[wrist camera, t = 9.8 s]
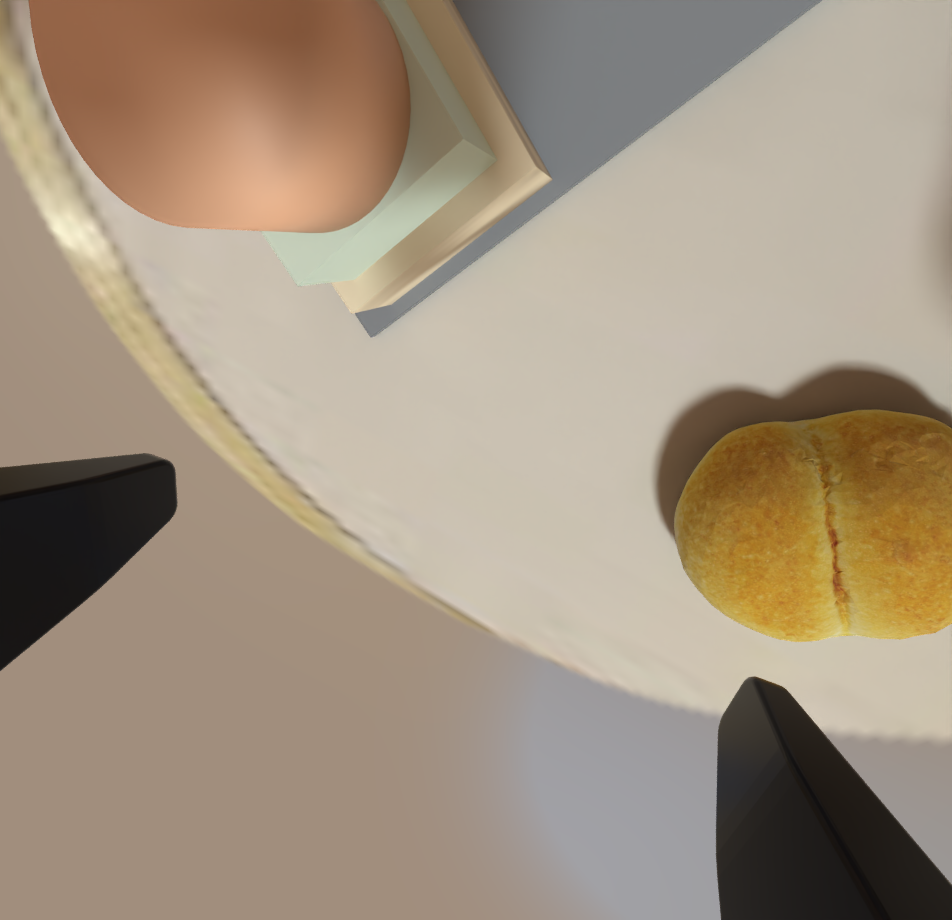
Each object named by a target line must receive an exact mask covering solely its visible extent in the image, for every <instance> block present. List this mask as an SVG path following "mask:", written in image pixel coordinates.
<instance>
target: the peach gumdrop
mask: <svg viewBox="0 0 952 920" xmlns="http://www.w3.org/2000/svg"><path fill="white" fill-rule="evenodd" d="M29 8H30V17H31V27H32V32H33V38H34V43H35V48H36V53H37V57H38V61H39V64H40V68H41V72H42V75H43V78H44V81H45V84H46V87H47V90H48V93H49V95H50V98H51V101H52V103H53V105H54V107H55V110H56V112H57V114H58V117H59V119H60V121H61V123H62V125H63V127H64V128H65V130H66V132H67V134H68V136H69V138H70V139H71V141H72V143H73V144H74V146H75V147H76V149H77V150H78V152H79V153H80V155H81V157H82V158H83V160H84V161H85V162H86V163H87V165H88V166H89V167H90V168H91V170H92V171H93V172H94V173H95V175H96V176H97V177H98V178H99V179H100V180H101V181H102V182H103V183H104V184H105V185H106V186H107V187H108V188H109V189H110V190H111V191H112V192H113V193H114V194H115V195H116V196H118V197H119V198H120V199H121V200H122V201H124V202H125V203H126V204H128V205H129V206H131V207H132V208H134V209H135V210H137V211H138V212H140V213H142V214H144V215H146V216H148V217H150V218H152V219H154V220H157V221H160V222H163V223H166V224H169V225H173V226H179V227H186V228H206V229H229V230H252V231H275V232H298V233H327V232H333V231H338V230H340V229H343V228H346V227H349V226H350V225H352V224H354V223H356V222H358V221H360V220H361V219H362V218H363V217H365V216H366V215H367V214H369V213H370V212H371V211H372V210H373V209H374V208H375V207H376V206H377V205H378V204H379V203H380V201H381V200H382V199H383V197H384V196H385V194H386V193H387V192H388V190H389V189H390V187H391V185H392V183H393V181H394V180H395V178H396V176H397V173H398V171H399V168H400V166H401V163H402V160H403V157H404V153H405V150H406V146H407V140H408V134H409V128H410V113H411V104H410V87H409V81H408V74H407V69H406V65H405V61H404V57H403V53H402V50H401V47H400V45H399V42H398V39H397V37H396V34H395V32H394V30H393V28H392V26H391V24H390V22H389V20H388V18H387V17H386V15H385V14H384V12H383V11H382V9H381V8H380V6H379V5H378V3H377V2H376V1H375V0H29Z"/></svg>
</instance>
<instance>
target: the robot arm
mask: <svg viewBox="0 0 952 920" xmlns="http://www.w3.org/2000/svg"><path fill="white" fill-rule="evenodd" d="M176 508H177V488H176V472H175V468H174V466H173V464H172V463H171V462H170V461H168V460H166V459H163V458H161V457H158V456H155V455H152V454H146V453H143V454H133V455H123V456H113V457H103V458H92V459H82V460H73V461H63V462H52V463H42V464H32V465H22V466H12V467H2V468H0V671H1V670H2V669H3V668H5V667H6V666H7V665H8V664H9V663H11V662H12V661H13V660H14V659H16V658H17V657H18V656H19V655H20V654H21V653H23V652H24V651H25V650H26V649H28V648H29V647H30V646H31V645H32V644H34V643H35V642H36V641H37V640H39V639H40V638H41V637H42V636H43V635H45V634H46V633H47V632H48V631H49V630H51V629H52V628H53V627H54V626H55V625H57V624H58V623H59V622H60V621H61V620H63V619H64V618H65V617H66V616H68V615H69V614H70V613H71V612H72V611H74V610H75V609H76V608H77V607H79V606H80V605H81V604H82V603H83V602H85V601H86V600H87V599H88V598H89V597H90V596H92V595H93V594H94V593H95V592H96V591H97V590H98V589H100V588H101V587H102V586H103V585H104V584H105V583H106V582H107V581H108V580H109V579H110V578H112V577H113V576H114V575H115V573H117V572H118V571H119V570H120V569H121V568H122V567H123V566H124V565H125V564H126V563H127V562H128V561H129V560H130V559H131V558H132V557H133V556H134V555H135V554H136V553H137V552H138V551H139V550H140V549H141V548H142V547H143V546H144V545H145V544H146V543H147V542H148V541H149V540H150V539H151V538H152V537H153V536H154V535H155V534H156V533H157V532H158V531H159V530H160V529H161V528H163V527H164V525H166V524H167V523H168V522H169V521H170V520H171V518H172V517H173V515H174V514H175V512H176ZM716 862H717V877H718V889H719V901H720V912H721V920H952V884H951V883H950V882H949V881H948V880H947V878H945V876H944V875H943V874H942V873H941V871H940V870H939V869H938V868H937V867H936V866H935V864H934V863H933V862H932V861H931V860H930V858H929V857H928V856H927V855H926V854H925V853H924V851H923V850H922V849H921V848H920V847H919V845H918V844H917V843H916V842H915V841H914V840H913V838H912V837H911V836H910V835H909V834H908V833H907V831H906V830H905V829H904V828H903V826H901V824H900V823H899V822H898V821H897V819H896V818H895V817H894V816H893V815H892V814H891V813H890V811H889V810H888V809H887V808H886V806H885V805H884V804H883V803H882V802H881V800H880V799H879V798H878V797H877V796H876V795H875V793H874V792H873V791H872V790H871V789H870V787H869V786H868V785H867V784H866V783H865V782H864V780H863V779H862V778H861V777H860V776H859V774H858V773H857V772H856V771H855V770H854V769H853V768H852V766H851V765H850V764H849V763H848V761H846V759H845V758H844V757H843V756H842V754H841V753H840V752H839V751H838V750H837V748H836V747H835V746H834V745H833V744H832V743H831V741H830V740H829V739H828V738H827V737H826V735H825V734H824V733H823V732H822V731H821V730H820V728H819V727H818V726H817V725H816V724H815V722H814V721H813V720H812V719H811V718H810V717H809V715H808V714H807V713H806V712H805V711H804V709H803V708H802V707H801V706H800V705H799V704H798V702H797V701H796V700H795V699H794V698H793V696H792V695H791V694H790V693H789V692H788V691H787V690H786V689H785V688H784V687H782V686H780V685H777V684H774V683H772V682H769V681H766V680H764V679H761V678H758V677H749V678H747V679H746V680H745V681H744V682H743V684H742V685H741V687H740V688H739V690H738V692H737V693H736V695H735V696H734V698H733V700H732V701H731V703H730V704H729V706H728V708H727V709H726V711H725V712H724V714H723V716H722V718H721V721H720V724H719V729H718V756H717V807H716Z"/></svg>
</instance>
